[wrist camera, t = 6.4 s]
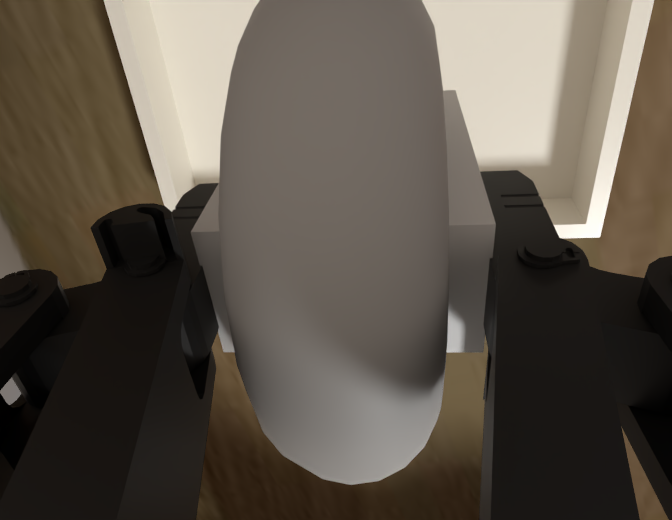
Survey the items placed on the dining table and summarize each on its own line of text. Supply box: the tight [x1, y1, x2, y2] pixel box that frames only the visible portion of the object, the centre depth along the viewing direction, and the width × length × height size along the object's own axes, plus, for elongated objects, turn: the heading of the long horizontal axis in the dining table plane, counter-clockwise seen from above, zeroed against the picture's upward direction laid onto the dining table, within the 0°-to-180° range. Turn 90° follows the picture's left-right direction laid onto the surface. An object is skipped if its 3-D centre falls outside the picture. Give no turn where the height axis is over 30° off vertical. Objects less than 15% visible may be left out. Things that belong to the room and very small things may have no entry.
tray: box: [104, 0, 654, 238], centre depth 22 cm, size 15×19×3 cm
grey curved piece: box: [218, 0, 449, 485], centre depth 11 cm, size 10×3×10 cm, turn 5°
